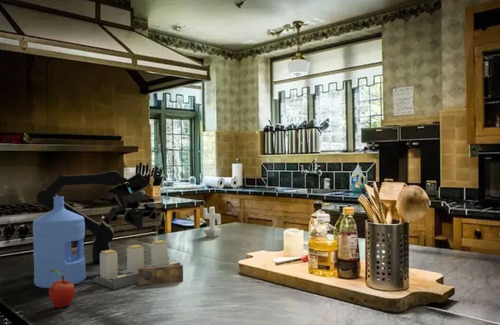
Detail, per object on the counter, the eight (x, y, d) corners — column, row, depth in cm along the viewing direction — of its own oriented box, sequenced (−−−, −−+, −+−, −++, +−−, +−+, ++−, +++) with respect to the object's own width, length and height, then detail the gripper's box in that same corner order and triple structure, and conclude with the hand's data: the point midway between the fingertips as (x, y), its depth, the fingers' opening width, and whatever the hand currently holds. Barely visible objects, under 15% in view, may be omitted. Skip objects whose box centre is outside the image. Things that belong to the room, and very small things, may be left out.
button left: (100, 277, 137) (99, 251, 137) (111, 275, 140) (110, 249, 140) (106, 280, 135) (106, 253, 135) (117, 277, 138) (117, 250, 138)
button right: (151, 265, 152) (151, 241, 152) (160, 263, 155) (160, 239, 155) (158, 267, 150) (157, 242, 150) (167, 264, 153) (167, 241, 153)
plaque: (138, 285, 134) (138, 269, 134) (138, 283, 135) (138, 268, 135) (183, 281, 137) (182, 265, 137) (182, 280, 138) (182, 264, 138)
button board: (93, 281, 138) (93, 271, 138) (159, 265, 158) (158, 257, 158) (114, 289, 130) (113, 278, 130) (180, 271, 150) (180, 261, 150)
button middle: (127, 271, 145) (126, 246, 145) (137, 269, 148) (136, 244, 148) (134, 273, 142) (133, 247, 142) (144, 270, 145) (143, 245, 145)
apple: (80, 301, 119) (79, 266, 119) (70, 310, 112) (69, 272, 112) (52, 302, 119) (51, 267, 118) (41, 311, 112) (40, 273, 112)
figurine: (217, 237, 212) (216, 208, 212) (201, 236, 216) (200, 207, 216) (224, 235, 219) (223, 206, 219) (208, 234, 223) (207, 205, 223)
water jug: (29, 291, 130) (26, 200, 130) (39, 277, 145) (37, 196, 145) (83, 286, 134) (81, 197, 134) (88, 273, 149) (86, 194, 149)
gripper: (110, 185, 157) (128, 217, 150) (152, 182, 171) (170, 212, 164) (100, 205, 162) (116, 237, 155) (141, 201, 176) (158, 230, 169)
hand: (141, 228), depth 161 cm, fingers closed
